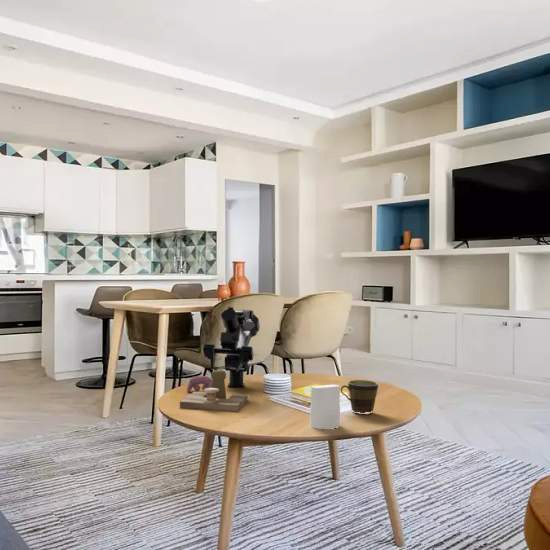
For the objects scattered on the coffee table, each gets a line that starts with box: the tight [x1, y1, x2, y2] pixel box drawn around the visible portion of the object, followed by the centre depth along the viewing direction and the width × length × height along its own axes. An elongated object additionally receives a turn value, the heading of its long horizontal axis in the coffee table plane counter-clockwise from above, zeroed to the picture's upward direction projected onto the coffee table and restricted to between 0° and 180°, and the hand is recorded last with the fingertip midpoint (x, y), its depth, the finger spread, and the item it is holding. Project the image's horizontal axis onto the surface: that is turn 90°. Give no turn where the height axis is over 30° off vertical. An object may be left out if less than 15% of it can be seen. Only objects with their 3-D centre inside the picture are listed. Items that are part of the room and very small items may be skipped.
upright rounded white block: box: [309, 383, 341, 430], centre depth 164 cm, size 9×9×12 cm
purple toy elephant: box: [186, 375, 213, 393], centre depth 207 cm, size 10×5×7 cm, turn 85°
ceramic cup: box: [340, 379, 379, 413], centre depth 180 cm, size 13×10×10 cm
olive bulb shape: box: [210, 369, 227, 399], centre depth 192 cm, size 6×6×11 cm
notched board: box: [179, 388, 249, 412], centre depth 188 cm, size 16×20×6 cm
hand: (224, 370), depth 199 cm, fingers open, 9 cm apart
